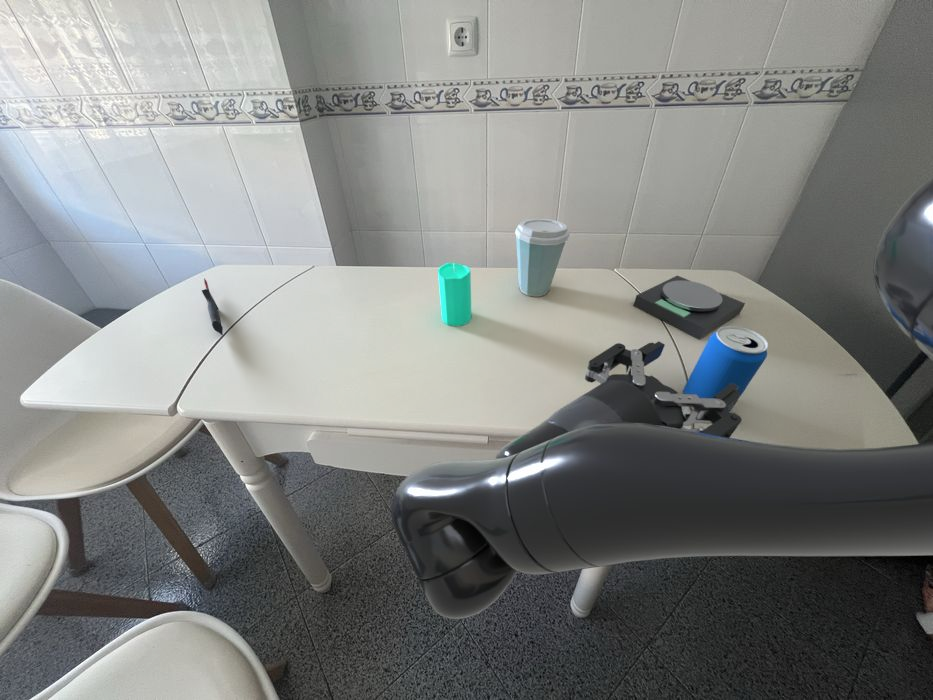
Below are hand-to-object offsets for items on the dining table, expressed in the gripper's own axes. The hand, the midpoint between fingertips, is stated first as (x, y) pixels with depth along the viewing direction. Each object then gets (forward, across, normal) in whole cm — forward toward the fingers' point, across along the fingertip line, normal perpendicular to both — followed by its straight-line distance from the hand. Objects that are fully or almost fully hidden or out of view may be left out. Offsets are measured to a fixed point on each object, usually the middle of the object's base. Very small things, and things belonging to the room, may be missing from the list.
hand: (693, 368), depth 41 cm
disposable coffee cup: (+13, +39, +13) cm, 43 cm away
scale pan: (+32, +16, +10) cm, 37 cm away
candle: (-7, +40, +13) cm, 43 cm away
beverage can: (+11, 0, +13) cm, 17 cm away
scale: (+32, +16, +13) cm, 38 cm away
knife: (-47, +73, +14) cm, 88 cm away
